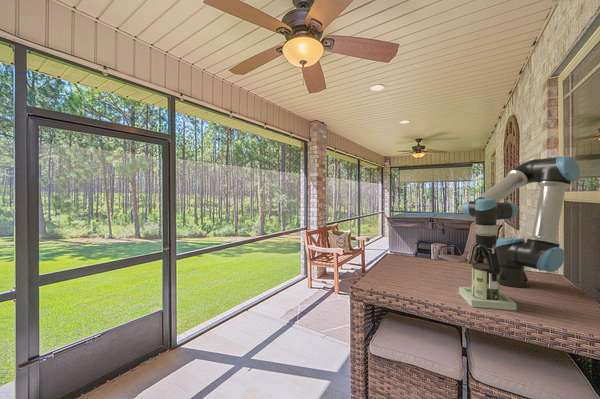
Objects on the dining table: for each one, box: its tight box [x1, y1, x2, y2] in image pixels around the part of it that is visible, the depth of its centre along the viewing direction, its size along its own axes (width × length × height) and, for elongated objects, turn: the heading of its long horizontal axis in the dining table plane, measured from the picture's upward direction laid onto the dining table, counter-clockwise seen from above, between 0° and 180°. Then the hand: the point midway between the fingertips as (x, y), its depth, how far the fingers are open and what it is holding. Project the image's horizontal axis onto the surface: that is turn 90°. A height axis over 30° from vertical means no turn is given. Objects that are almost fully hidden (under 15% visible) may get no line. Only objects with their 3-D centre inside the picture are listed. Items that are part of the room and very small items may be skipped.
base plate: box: [458, 286, 517, 311], centre depth 119 cm, size 16×16×3 cm
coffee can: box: [471, 262, 501, 301], centre depth 119 cm, size 10×10×14 cm
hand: (486, 283), depth 119 cm, fingers open, 13 cm apart
